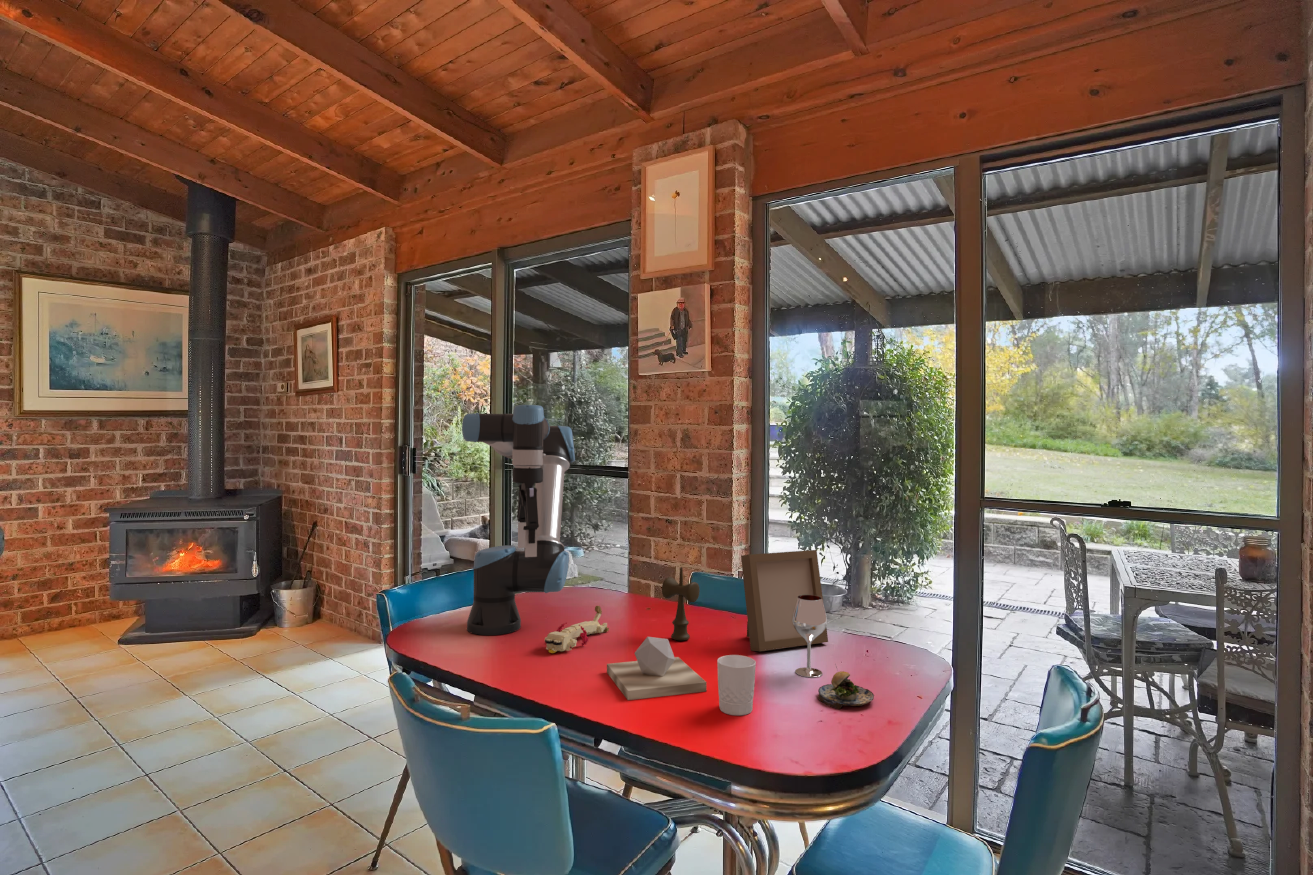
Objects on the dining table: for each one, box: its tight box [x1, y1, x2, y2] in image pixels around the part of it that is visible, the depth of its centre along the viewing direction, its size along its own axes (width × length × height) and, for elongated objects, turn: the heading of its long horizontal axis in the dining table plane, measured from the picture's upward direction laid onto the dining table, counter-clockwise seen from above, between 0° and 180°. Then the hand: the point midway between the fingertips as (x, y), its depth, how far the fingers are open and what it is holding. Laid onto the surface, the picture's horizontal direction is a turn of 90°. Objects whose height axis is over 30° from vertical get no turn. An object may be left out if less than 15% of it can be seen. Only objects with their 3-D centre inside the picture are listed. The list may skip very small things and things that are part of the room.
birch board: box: [606, 656, 707, 701], centre depth 158 cm, size 18×18×2 cm
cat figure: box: [544, 605, 610, 654], centre depth 188 cm, size 10×9×25 cm
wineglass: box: [792, 595, 828, 678], centre depth 165 cm, size 8×8×18 cm
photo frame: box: [740, 549, 829, 652], centre depth 190 cm, size 15×22×25 cm
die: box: [634, 636, 676, 677], centre depth 158 cm, size 8×9×10 cm
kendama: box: [661, 566, 701, 642], centre depth 191 cm, size 6×10×20 cm, turn 51°
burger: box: [817, 663, 875, 710], centre depth 149 cm, size 12×12×8 cm
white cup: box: [716, 654, 757, 716], centre depth 143 cm, size 8×8×10 cm
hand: (526, 552), depth 173 cm, fingers open, 13 cm apart
